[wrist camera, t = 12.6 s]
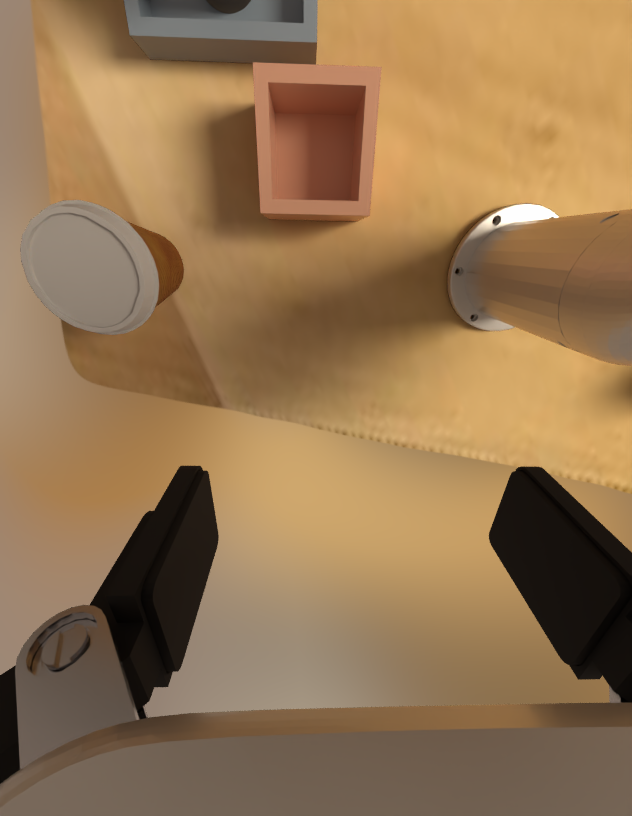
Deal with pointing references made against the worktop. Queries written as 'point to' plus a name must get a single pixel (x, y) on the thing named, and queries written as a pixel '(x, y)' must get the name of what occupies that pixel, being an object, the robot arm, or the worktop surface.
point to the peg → (229, 5)
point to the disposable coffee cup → (98, 267)
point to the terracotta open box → (315, 140)
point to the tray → (225, 31)
